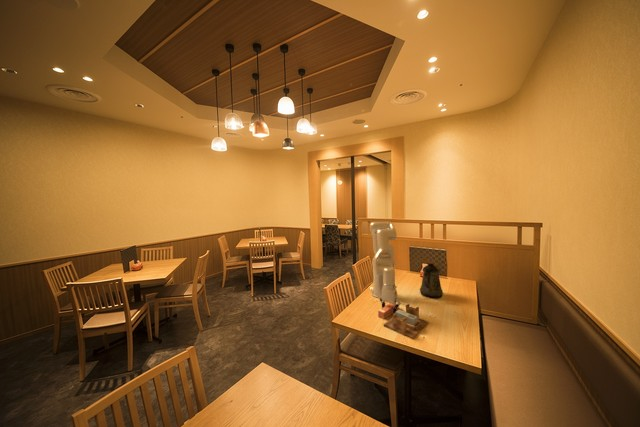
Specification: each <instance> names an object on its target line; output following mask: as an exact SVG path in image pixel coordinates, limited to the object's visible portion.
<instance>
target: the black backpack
mask: <svg viewBox="0 0 640 427" xmlns="http://www.w3.org/2000/svg"><path fill="white" fill-rule="evenodd" d="M422 272H423V273H422V280H421V285H420V288H419V291H420V295H421V296H423V297H424V298H428V299H433V300H437V299H442V298H443V294H444V292H443V289H442V285H441V279H440V269H439V268H438V267H437V266H435V264H434V263H427V265H426V266H424V267H423V268H422Z"/></svg>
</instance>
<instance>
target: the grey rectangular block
mask: <svg viewBox="0 0 640 427" xmlns="http://www.w3.org/2000/svg"><path fill="white" fill-rule="evenodd" d="M395 313H396V314H397V317H400V318H402V319H403V318H404V317H407V323H408V324H411V325H413V326H416V325H417V316H414V315H412V314H409V313H407V312H406V311H405V310H402V309H397V311H396V312H395Z"/></svg>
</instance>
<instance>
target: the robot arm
mask: <svg viewBox="0 0 640 427" xmlns="http://www.w3.org/2000/svg"><path fill="white" fill-rule="evenodd" d="M369 231H370V234H371V237H372V246H373V247H372V249H373V250H372V251H373V253H374V255H373V258H372V259H371V264H372V270H373V272H372V273H373V275H372V278H373V284H372V286H370V287H369V291H371V296H372V297H374V298H378V300H379V302H380V303H381V309H382V308H383V307H385V306H386V303H388V304H390V303H391V304H393V306H394V308H393V313H392V314H395V312H396V311H398V309H397V307H398V306H399V307H400V306H401V304H402V302H401V301H400V300H399V298H398V292H397V286H396V272H395V271H396V270H395V266H396V264H395V262H396V261H395V248H394V245H393V244H392V243H391V242H390V241H395V240H396V239H397V231H396V228H395V226H394V224H393V222H392V221H373V222H371V223H370V224H369ZM381 255H382V256H381ZM396 302H397V303H398V304H396Z"/></svg>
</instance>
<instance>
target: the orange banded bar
mask: <svg viewBox="0 0 640 427" xmlns="http://www.w3.org/2000/svg"><path fill="white" fill-rule="evenodd" d="M396 304H398V303H397V302H396ZM399 307H400V305H399V306H398V307H397V310H400V308H399ZM393 308H394V306H393V304H391V303H388V304H385V307H383V308H382V307H381V308H380V309H378V311H377V312H378V313H377V316H378V318H379V319H383V320H384V319H386V318H387V317H389V316H391V314H392V315H393V314H394V313H393Z"/></svg>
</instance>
